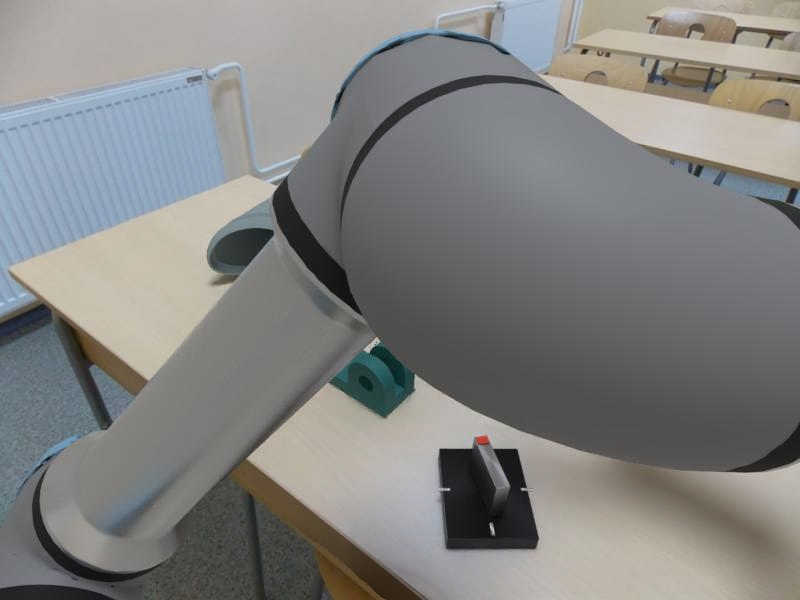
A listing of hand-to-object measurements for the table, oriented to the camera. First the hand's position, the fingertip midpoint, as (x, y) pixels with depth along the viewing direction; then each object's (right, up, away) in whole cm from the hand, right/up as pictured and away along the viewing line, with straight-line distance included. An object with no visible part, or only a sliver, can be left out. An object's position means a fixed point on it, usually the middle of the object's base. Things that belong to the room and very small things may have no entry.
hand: (549, 236), depth 57 cm
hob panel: (-7, -31, +5) cm, 32 cm away
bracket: (-24, -19, +21) cm, 37 cm away
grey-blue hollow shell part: (-38, -3, +43) cm, 57 cm away
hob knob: (-7, -29, +3) cm, 30 cm away
